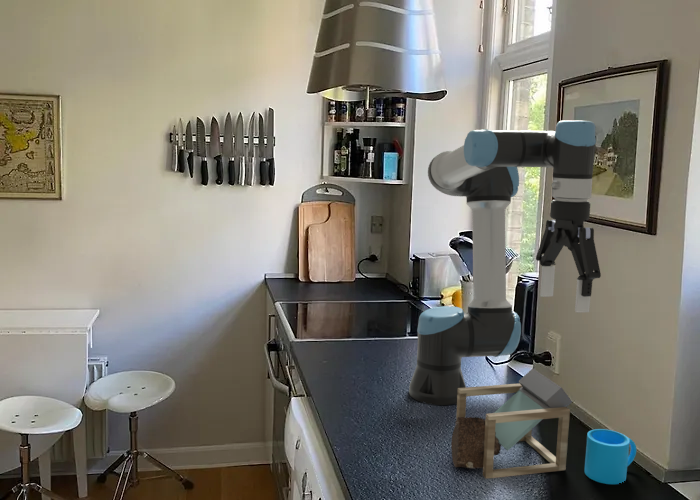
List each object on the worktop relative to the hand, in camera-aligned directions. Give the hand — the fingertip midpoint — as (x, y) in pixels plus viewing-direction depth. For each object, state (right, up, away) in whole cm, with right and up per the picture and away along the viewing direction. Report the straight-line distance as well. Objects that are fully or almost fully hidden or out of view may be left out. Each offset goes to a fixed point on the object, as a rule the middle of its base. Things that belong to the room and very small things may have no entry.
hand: (563, 303), depth 140 cm
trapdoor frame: (-9, -34, +9) cm, 36 cm away
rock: (-13, -28, +3) cm, 31 cm away
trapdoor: (-5, -25, +8) cm, 27 cm away
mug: (+11, -35, +2) cm, 37 cm away
